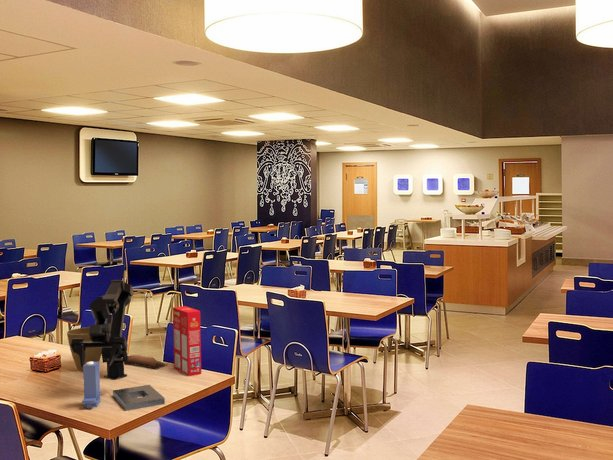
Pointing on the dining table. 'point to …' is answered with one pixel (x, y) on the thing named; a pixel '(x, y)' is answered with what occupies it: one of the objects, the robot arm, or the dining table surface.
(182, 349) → the food packaging
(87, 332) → the plant pot
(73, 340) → the robot arm
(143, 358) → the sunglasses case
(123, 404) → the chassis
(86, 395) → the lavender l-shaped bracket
